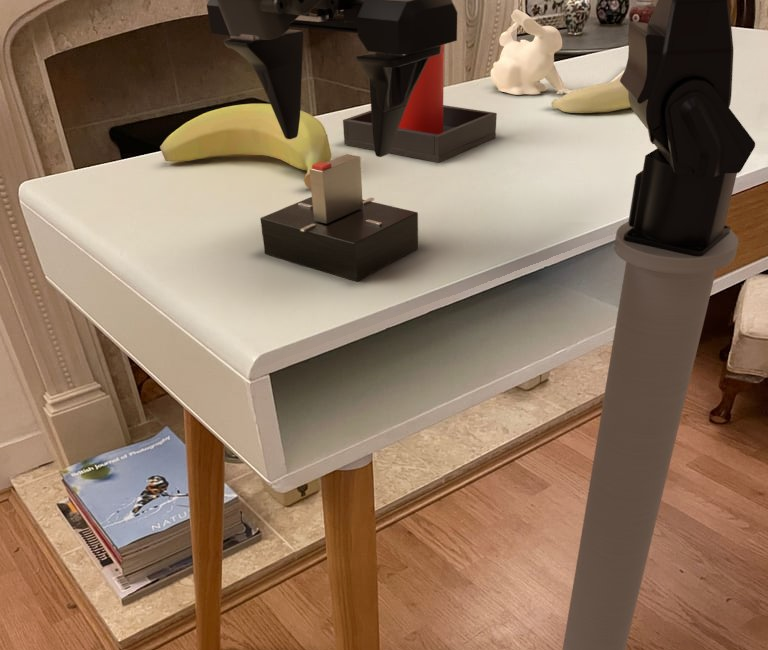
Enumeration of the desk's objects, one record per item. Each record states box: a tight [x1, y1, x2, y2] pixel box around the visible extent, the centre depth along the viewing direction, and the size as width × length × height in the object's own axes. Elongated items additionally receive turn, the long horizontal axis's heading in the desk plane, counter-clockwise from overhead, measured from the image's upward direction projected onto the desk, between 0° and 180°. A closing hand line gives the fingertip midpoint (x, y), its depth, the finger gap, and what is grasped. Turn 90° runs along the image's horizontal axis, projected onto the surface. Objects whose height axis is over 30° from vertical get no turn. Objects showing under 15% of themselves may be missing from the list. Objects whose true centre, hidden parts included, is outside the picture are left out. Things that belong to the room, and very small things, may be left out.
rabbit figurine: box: [490, 9, 574, 96], centre depth 104 cm, size 12×8×10 cm, turn 46°
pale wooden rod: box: [608, 69, 625, 83], centre depth 110 cm, size 1×19×1 cm, turn 154°
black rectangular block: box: [259, 196, 419, 282], centre depth 65 cm, size 10×9×3 cm
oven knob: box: [309, 153, 364, 224], centre depth 63 cm, size 4×1×4 cm, turn 142°
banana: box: [159, 103, 332, 190], centre depth 83 cm, size 14×6×20 cm
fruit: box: [550, 81, 631, 114], centre depth 99 cm, size 7×15×3 cm, turn 117°
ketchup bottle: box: [398, 44, 445, 135], centre depth 86 cm, size 5×5×14 cm
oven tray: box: [342, 104, 498, 163], centre depth 90 cm, size 13×11×3 cm
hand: (335, 146), depth 61 cm, fingers open, 9 cm apart
